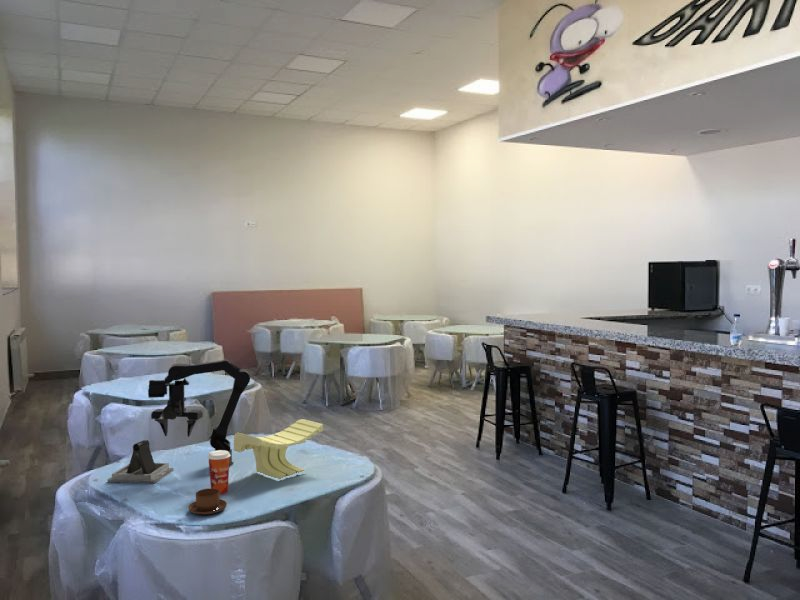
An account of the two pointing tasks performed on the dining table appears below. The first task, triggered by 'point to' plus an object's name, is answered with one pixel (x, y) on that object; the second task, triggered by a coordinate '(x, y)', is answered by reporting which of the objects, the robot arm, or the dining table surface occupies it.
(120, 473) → the square tray
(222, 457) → the paper cup
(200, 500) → the cup and saucer
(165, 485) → the dining table surface
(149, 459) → the phone stand
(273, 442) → the slatted curved stool
